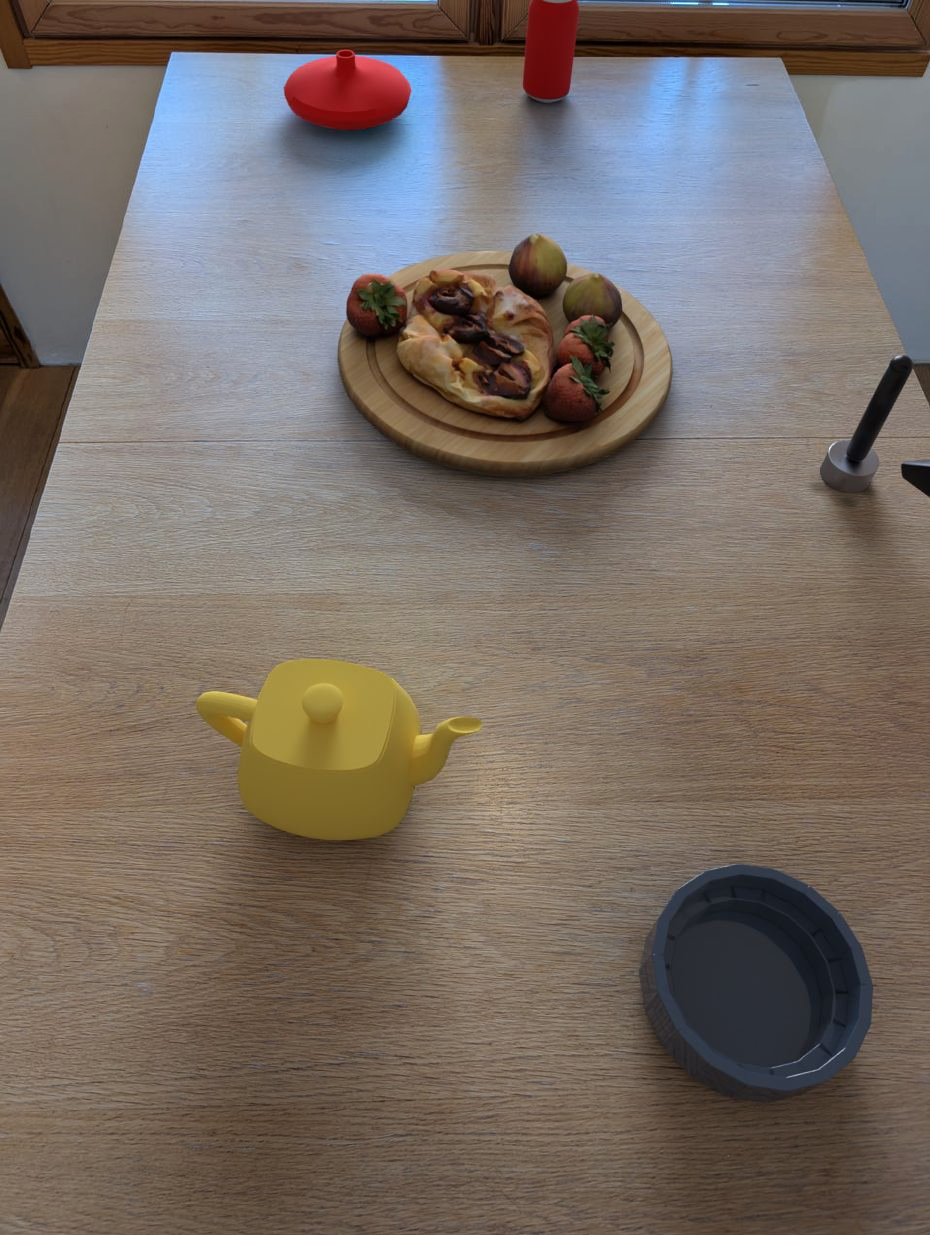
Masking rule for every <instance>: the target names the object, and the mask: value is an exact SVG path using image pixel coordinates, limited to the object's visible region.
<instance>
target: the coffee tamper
mask: <svg viewBox="0 0 930 1235" xmlns="http://www.w3.org/2000/svg"><path fill="white" fill-rule="evenodd" d="M913 370H914V361H913V360H912V358H911V357H909V356H908V355H905V354H898V355H895V356H894V357H893V358H892V359H891V360H890V362H889V363H888V365H887V366H886V368H885V371H884V373H883V375H882V376H881V378H880V381H879V383H878V385H877V386H876V389H875V391H874V393H873V395H872V397H871V399H870V401H869V402H868V404H867V407H866V408H865V411H864V413H863V415H862V417H861V419H860V420H859V423H858V424H857V426H856V429H855V430H854V432H853V434H852V437H851V439H842V440H838V441H836V442H834V443H832V444H831V446H830V447H829V448H828V451H827V452H826V455H825V457H824V459H823V461H822V462H821V465H820V468H819V472H820V473H819V474H820V476H821V479H822V480H823V481H824V482H825V483H826V484H827V485H828V486H830V487H831V488H832V489H834V490H837V491H839V492H842V493H847V494H856V493H860V492H863V491H865V490H866V489H867V488H868V487H869V486H870V484H871V482H872V480H873V478H874V477H875V474H876V473H877V471H878V470H879V467H880V459H879V456H878V454H877V452H876V451H875V450H874V449H872V447H873V446H874V443H875V442H876V440H877V438H878V436H879V434H880V432H881V430H882V428H883V426H884V424H885V423H886V421H887V419H888V417H889V415H890V413H891V411H892V410H893V408H894V406H895V405H896V404H895V403H897V400H898V398H899V396H900V394H901V393H902V391H903V388H904V387H905V385H906V383H907V381H908V379H909V378H910V375H911V374H912V372H913Z"/></svg>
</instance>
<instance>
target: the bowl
mask: <svg viewBox="0 0 930 1235" xmlns="http://www.w3.org/2000/svg"><path fill="white" fill-rule="evenodd" d="M638 972H639V973H638V975H639V983H640V989H641V996H642V1002H643V1009H644V1011H645V1015H646V1016H647V1018H648V1020H649V1022H650V1025H651V1027H652V1028H653V1031H654V1033H655V1034H656V1037H657V1039H658V1041H659V1043H660V1045H661V1046H662V1047H663V1049H664V1051H666V1052H667V1054H668V1055H669V1056H670V1057H671V1058H672V1059H673V1060H674V1061H675V1062H676V1063H677V1064H678V1065H679V1066H680V1067H681V1069H682V1070H683V1071H684V1072H685V1073H686V1074H687V1075H688V1076H690V1078H692V1079H693V1080H695V1081H696V1082H698V1083H700V1084H702V1085H704V1086H706V1087H708V1088H709V1089H712V1090H713V1091H715V1092H717V1093H719V1094H720V1095H723V1096H724V1097H726V1098H729V1099H735V1100H741V1101H746V1102H747V1101H748V1102H754V1103H760V1104H770V1103H775V1102H779V1101H783V1100H787V1099H791V1098H794V1097H795V1098H796V1097H799V1096H803V1094H806V1093H808V1092H810V1091H812V1090H814V1089H816V1088H817V1087H819V1086H821V1085H823V1084H825V1083H827V1082H828V1081H830V1080H831V1079H832V1078H834V1077H835V1076H836V1075H837V1074H838V1073H839V1072H840V1071H842V1070H843V1069H845V1067H847V1066H848V1065H849V1064H851V1062H853V1061H854V1060H855V1059H856V1057H857V1056H858V1053H859V1051H860V1049H861V1047H862V1045H863V1042H864V1041H865V1038H866V1037H867V1034H868V1032H869V1030H870V1028H871V1025H872V1016H873V1014H872V1013H873V998H874V984H873V981H872V980H873V979H872V977H871V973H870V970H869V966H868V963H867V959H866V956H865V952H864V949H863V947H862V945H861V943H860V941H859V940H858V938H857V936H856V935H855V934H854V932H853V931H852V929H851V927H850V926H849V924H848V922H847V920H846V919H845V918H844V917H843V914H842V913H841V912H840V911H839V910H838V909H837V908H836V907H835V906H834V905H833V904H832V903H830V902H829V901H828V900H827V899H826V898H825V897H824V896H823V895H821V894H820V893H819V892H818V891H817V890H815V888H814V887H812V886H811V885H809V884H808V883H806V882H804V881H801V880H800V879H797V878H795V877H794V876H793V877H792V876H790V875H789V874H787V873H785V872H782V871H779V870H778V869H775V868H771V867H766V866H757V865H750V864H743V863H733V864H730V865H729V864H728V865H724V866H720V867H719V866H718V867H715V868H710V869H706V870H703V871H702V872H700V873H699V874H698V875H696V876H695V877H693V878H691V879H690V880H688V881H687V882H685V883H684V884H683V885H681V886H680V887H678V888H677V889H676V890H675V892H674V893H673V895H672V896H671V897H670V899H669V901H668V902H667V904H666V905H665V907H664V908H663V909H662V911H661V913H660V915H659V916H658V917H657V920H656V921H655V923H653V926H652V927H651V929H650V930H649V932H648V933H647V935H646V937H645V940H644V945H643V950H642V955H641V961H640V965H639V970H638Z"/></svg>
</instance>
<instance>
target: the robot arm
mask: <svg viewBox="0 0 930 1235" xmlns="http://www.w3.org/2000/svg"><path fill="white" fill-rule="evenodd" d="M900 473H901V477H902V479H904V480H905V481H906V482H907V483H908V484H910V485H911V486H913V487H915V489H917V490H919V491H920V492H921V493H923V494H924V495H925V496H926V497H928V498H930V459H921V460H906V461H904V462H902V463H901V464H900Z"/></svg>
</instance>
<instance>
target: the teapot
mask: <svg viewBox="0 0 930 1235" xmlns="http://www.w3.org/2000/svg"><path fill="white" fill-rule="evenodd" d="M195 710H196V712H197V713H198V715H199V717H200V718H201V719H202V720H203V721H204V722H205V723H207V725H209V726H210V728H212V729H213V730H215V731H216V732H218V734H220V735H222V736H223V737H224V738H226V739H228V740H229V741H231V742H232V743H233V744H235V745H236V746H238V747H240V748H241V749H240V755H239V759H238V760H239V761H238V767H237V786H238V793H239V796H240V800H241V802H242V804H243V806H244V807H245V809H246V810H247V811H248V812H249V813H250V814H251V815H252V816H254V817H255V818H256V819H258V820H260V821H261V822H263V823H265V824H267V825H269V826H272V827H273V828H276V829H279V830H281V831H284V832H287V833H289V834H293V835H297V836H300V837H304V838H309V839H315V840H324V841H354V840H365V839H369V838H377V837H379V836H382V835H385V834H387V833H389V832H391V831H392V830H394V829H395V828H397V826H398V825H400V824H401V822H402V820H403V819H404V817H405V816H406V814H407V812H408V810H409V806H410V804H411V801H412V798H413V795H414V792H415V788H416V787H417V786H420V785H423V784H426V783H427V782H430V781H433V779H435V778H436V777H437V776H438V775H439V774H440V773H441V771H442V770H443V768H444V767H445V765H446V762H447V760H448V757H449V754H450V751H451V747H452V745H453V743H454V742H455V741H456V740H458V739H459V738H461V737H464V736H468V735H471V734H474V733H476V732H478V731H480V730H481V729H482V728H483V722H482V721H481V719H478V718H476V717H472V716H456V717H451V718H449V719H445V720H444V721H441V722H440V723H438V724H437V726H435V728H434V730H433V732H432V733H428V734H422V732H423V730H422V723H421V719H420V715H419V712H418V709H417V706H416V705H415V703H414V701H413V699H412V698H411V696H410V695H409V694H408V693H407V691H405V689H404V688H403V687H402V686H401V685H400V684H399V683H398V682H397V681H395V679H393V678H392V677H390V676H389V675H388V674H385V673H384V672H381V671H380V670H378V669H375V668H372V667H368V666H364V665H361V664H357V663H352V662H349V661H348V662H347V661H343V660H336V659H323V658H303V659H301V658H299V659H291V660H287V661H283V662H281V663H279V664H277V665H275V667H274V668H272V669H271V671H270V672H269V674H268V675H267V677H266V679H265V681H264V683H263V686H262V688H261V690H260V692H259V694H258V696H257V699H255V698H251V697H247V696H243V695H240V694H235V693H230V692H225V691H217V690H215V691H214V690H211V691H206V692H203V693H202V694H201V695H199V696H198V697H197V699H196V702H195ZM243 721H245V722H247V724H246V723H245V722H243Z"/></svg>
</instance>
